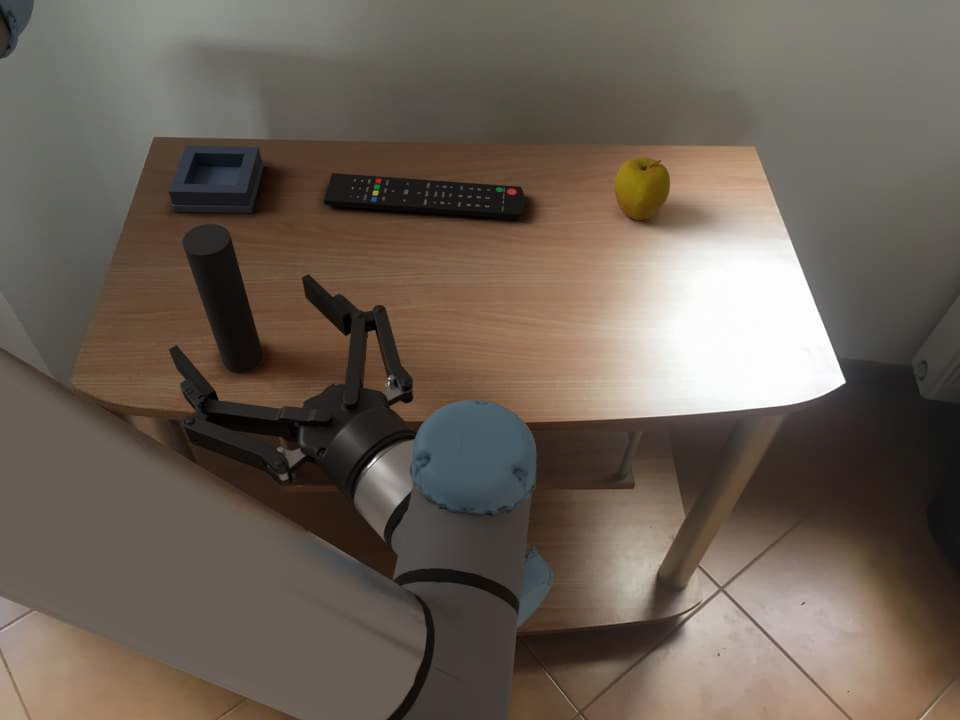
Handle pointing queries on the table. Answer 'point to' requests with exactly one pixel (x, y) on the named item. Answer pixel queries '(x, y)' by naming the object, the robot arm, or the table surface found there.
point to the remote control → (425, 196)
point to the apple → (641, 187)
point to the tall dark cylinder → (223, 296)
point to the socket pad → (216, 179)
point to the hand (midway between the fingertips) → (244, 319)
